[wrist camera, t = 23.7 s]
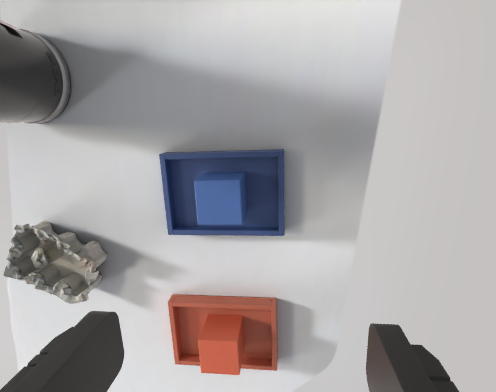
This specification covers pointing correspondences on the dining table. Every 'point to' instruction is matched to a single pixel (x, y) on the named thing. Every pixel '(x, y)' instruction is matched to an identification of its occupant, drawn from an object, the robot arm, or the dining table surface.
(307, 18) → the dining table surface
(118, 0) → the dining table surface
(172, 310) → the terracotta tray
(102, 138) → the dining table surface
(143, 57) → the dining table surface
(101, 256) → the egg carton
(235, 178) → the blue block
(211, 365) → the terracotta block
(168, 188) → the blue tray
